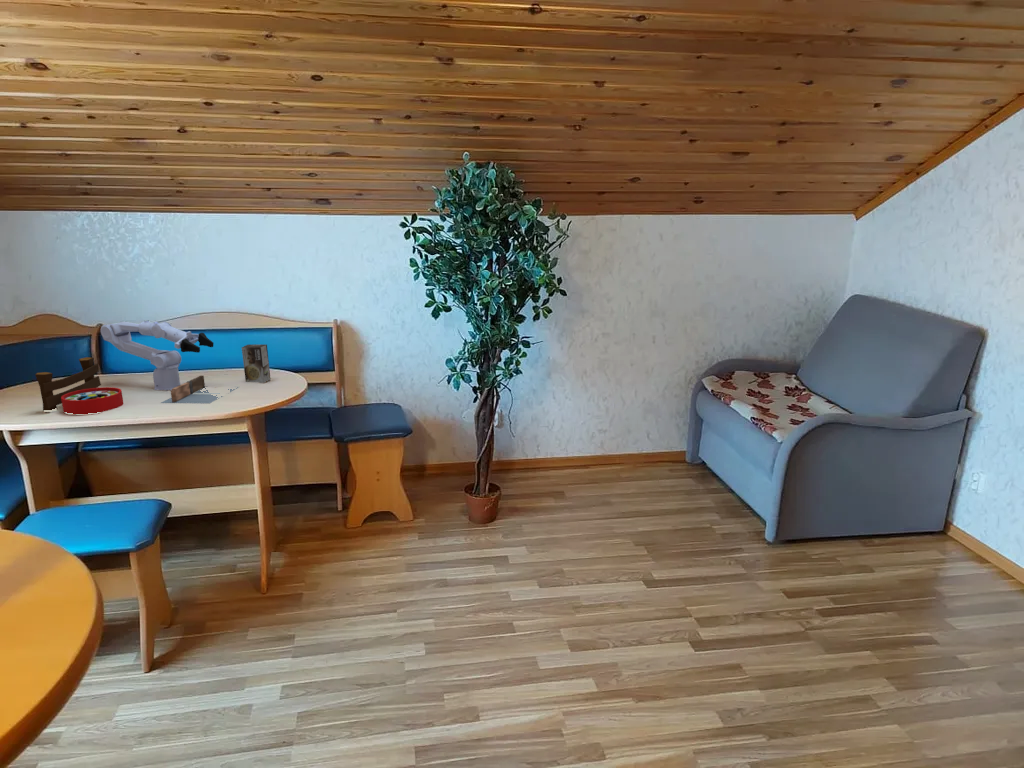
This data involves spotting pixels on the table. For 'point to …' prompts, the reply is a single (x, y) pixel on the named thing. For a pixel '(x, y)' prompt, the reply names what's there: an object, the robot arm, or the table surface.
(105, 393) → the toy clock
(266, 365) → the coffee box
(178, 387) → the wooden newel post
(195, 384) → the dark brown wooden bar
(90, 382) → the decorative fence
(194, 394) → the board
